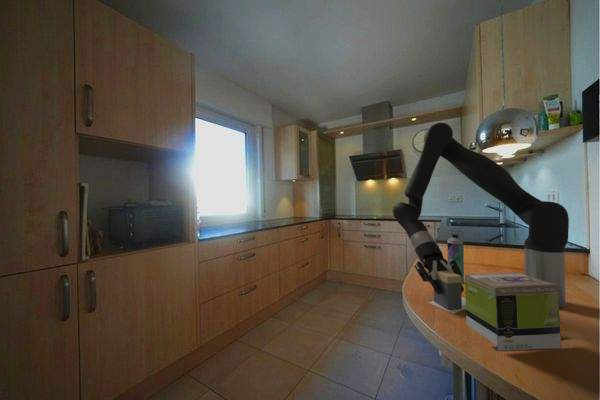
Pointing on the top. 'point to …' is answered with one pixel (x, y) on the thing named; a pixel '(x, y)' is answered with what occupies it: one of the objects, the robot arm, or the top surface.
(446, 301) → the block
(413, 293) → the top surface
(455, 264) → the robot arm
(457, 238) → the spray can
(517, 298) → the tea box
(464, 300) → the board
